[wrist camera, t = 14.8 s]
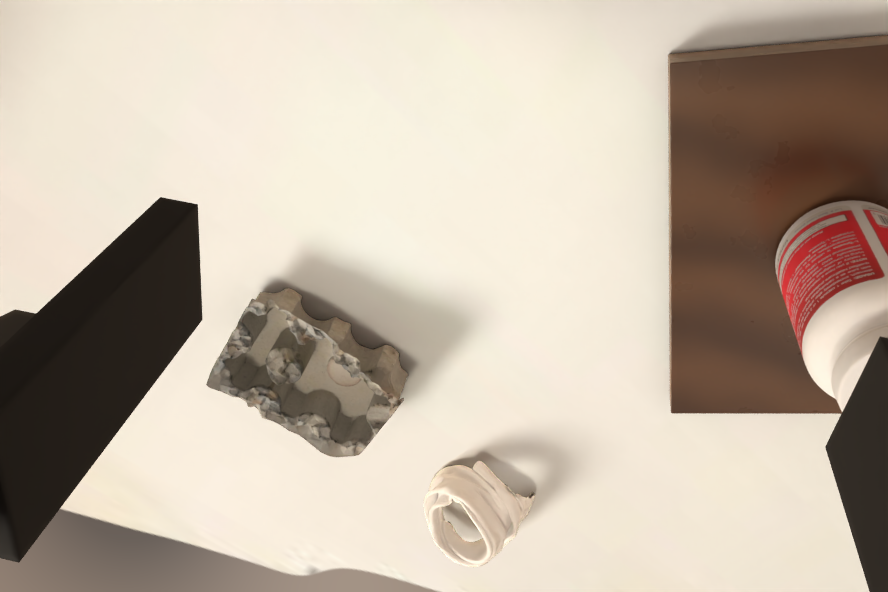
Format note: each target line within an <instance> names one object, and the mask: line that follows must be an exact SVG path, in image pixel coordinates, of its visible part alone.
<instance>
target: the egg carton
mask: <svg viewBox="0 0 888 592" xmlns="http://www.w3.org/2000/svg"><path fill="white" fill-rule="evenodd" d="M301 299H302V295H300V294H298V293H297V292H296V291H294V290H293V289H289V288H285V289H284V290H282V291H281V292H279V293H269V292H260V294H259V295H258V297H257V299H256V300H254V299H252V300H251V302H250V304H249V306H248V307H246V309H245V311H244V313H243V314H242V316H241V318H240V320H239V322H238V325H237V327H236V329H235V330H234V331H233V332H232V334H231V336H230V338H229V340H228V342H227V344H226V345H225V347H224V349H223V351H222V353H221V355H220V356H219V357H218V359H217V361H216V363H215V365H214V367H213V369H212V371H211V373H210V376H209V379H208V382H207V384H206V385H207V386H208V387H210V388H213V389H215V390H218V391H221V392H224V393H226V394H228V395H230V396H232V397H239V398H241V399H243V400H244V401H246V402H247V405H248V407H253V406H255V407H256V408H257V409H258V410H259V412H260V414H261V416H262V418H265V419H268V420H271V421H274V422H276V423H278V424H280V425H281V426H283V427H284V428H286V429H287V430H289V431H291V432H294V433H296V434H298V435H300V436H301V437H303V438H304V439H305V440H307V441H308V442H309V443H310V444H311V445H313V446H314V447H315V448H316V449H318V450H319V451H320V452H322V453H324V454H326V455H328V456H332V457H345V456H356V455H359V454H360V453H361V452H363V450H364V449H365V448H366V446H367V445H368V444H369V443H370V442H371V440H372V439H373V438H374V437H375V435H376V434H377V433H378V432H379V430H380V429H381V428H382V426H383V425H384V424H385V423H386V422H387V420H388V419H389V418H390V417H391V416H392V415H393V413H394V412H395V411H396V410H397V408H398V407H399V405H400V404H401V403H402V402H403V400H404V398H402V399H399V398H400V395H401V392H402V390H403V387H404V384H405V381H406V378H407V376H408V374H407V373H406V372H405V371H404V370H403V369H402V368H401V366H400V362H399V353H398V352H397V351H396V350H395V349H394V348H393V347H391V346H388V345H383V346H382V347H379V348H376V349H374V350H373V349H369V348H366V347H363V346H361V345H359V344H358V343H356V341H355V340H354V338H353V336H352V334H351V324H350V323H347V322H344V321H342V320H341V319H339V318H337V317H332V318H331V319H329V320H325V321H319V320H315V319H313V318H311V317H310V316H309V315H308V314H307V313H306V312H305V311H304V310H303V308H302V306H301Z"/></svg>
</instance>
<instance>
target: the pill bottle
mask: <svg viewBox="0 0 888 592" xmlns="http://www.w3.org/2000/svg"><path fill="white" fill-rule="evenodd" d="M775 268H776V275H777V279H778V283H779V286H780V289H781V292H782V295H783V298H784V301H785V304H786V307H787V311H788V314H789V317H790V320H791V323H792V326H793V329H794V332H795V335H796V338H797V341H798V344H799V347H800V351H801V354H802V357H803V360H804V363H805V365H806V367H807V370H808V372H809V374H810V376H811V377H812V379H813V380H814V381H815V383H816V384H817V385H818V386H819V387H820V388H821V389H822V390H823V391H824V392H826V393H827V394H829V395H830V396H832V397H833V398H835V399H836V400H837V402H838V405H839V407H840V409H841V411H842V412H843V410H844V408H845V406H846V404H847V402H848V400H849V398H850V396H851V394H852V392H853V390H854V388H855V386H856V384H857V382H858V380H859V378H860V376H861V374H862V372H863V370H864V368H865V366H866V363H867V361H868V359H869V357H870V355H871V353H872V351H873V349H874V347H875V345H876V343H877V341H878V339H879V337H880V336H881V337H886V338H888V209H886V208H884V207H882V206H880V205H877V204H874V203H870V202H865V201H854V200H852V201H839V202H834V203H830V204H826V205H823V206H820V207H818V208H816V209H813V210H811V211H810V212H808V213H806V214H805V215H803V216H802V217H800V218H799V219H798V220H797V221H796V222H795V223H794V224H793V225H792V226H791V227H790V228H789V229H788V231H787V232H786V233H785V235H784V236H783V238H782V240H781V242H780V244H779V246H778V249H777V253H776V259H775Z"/></svg>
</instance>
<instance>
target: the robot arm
mask: <svg viewBox="0 0 888 592" xmlns="http://www.w3.org/2000/svg"><path fill="white" fill-rule="evenodd" d="M201 321H202V299H201V275H200V251H199V226H198V204H192V203H187V202H182V201H177V200H172V199H167V198H161V197H160V198H159V199H158V200H157V201H156V202H155V203H154V204H153V205H152V206H151V207H150V208H149V209H147V210H146V211H145V212H144V213H143V214H142V215H141V216H140V217H139V218H138V219H137V220H136V221H135V222H134V223H133V224H131V225H130V226H129V227H128V228H127V229H126V230H125V231H124V232H123V233H122V234H121V235H120V236H119V237H118V238H117V239H115V240H114V241H113V242H112V243H111V244H110V245H109V246H108V247H107V248H106V249H105V250H104V251H103V252H102V253H101V254H99V255H98V256H97V257H96V258H95V259H94V260H93V261H92V262H91V263H90V264H89V265H88V266H87V267H86V268H85V269H83V270H82V271H81V272H80V273H79V274H78V275H77V276H76V277H75V278H74V279H73V280H72V281H71V282H70V283H69V284H67V285H66V286H65V287H64V288H63V289H62V290H61V291H60V292H59V293H58V294H57V295H56V296H55V297H54V298H53V299H51V300H50V301H49V302H48V303H47V304H46V305H45V306H44V307H43V308H42V309H41V310H40V311H39V312H38V313H37V314H34V313H29V312H24V311H20V310H13V311H11V312H9V313H7V314H5V315H3V316H1V317H0V558H2V559H6V560H11V561H15V562H20V560H21V559H22V558H23V557H24V555H25V554H26V553H27V551H28V550H29V549H30V547H31V546H32V545H33V543H34V542H35V541H36V539H37V538H38V537H39V535H40V534H41V533H42V531H43V530H44V529H45V527H46V526H47V525H48V523H49V522H50V521H51V520H52V518H53V517H54V516H55V514H56V513H57V512H58V510H59V509H60V508H61V506H62V505H63V504H64V502H65V501H66V500H67V498H68V497H69V496H70V494H71V493H72V492H73V490H74V489H75V488H76V486H77V485H78V484H79V482H80V481H81V480H82V478H83V477H84V476H85V474H86V473H87V472H88V470H89V469H90V468H91V466H92V465H93V464H94V463H95V461H96V460H97V459H98V457H99V456H100V455H101V453H102V452H103V451H104V449H105V448H106V447H107V445H108V444H109V443H110V441H111V440H112V439H113V437H114V436H115V435H116V433H117V432H118V431H119V429H120V428H121V427H122V425H123V424H124V423H125V421H126V420H127V419H128V417H129V416H130V415H131V413H132V412H133V411H134V409H135V408H136V407H137V405H138V404H139V403H140V401H141V400H142V399H143V398H144V396H145V395H146V394H147V392H148V391H149V390H150V388H151V387H152V386H153V384H154V383H155V382H156V380H157V379H158V378H159V376H160V375H161V374H162V372H163V371H164V370H165V368H166V367H167V366H168V364H169V363H170V362H171V360H172V359H173V358H174V356H175V355H176V354H177V352H178V351H179V350H180V348H181V347H182V346H183V344H184V343H185V342H186V340H187V339H188V338H189V337H190V335H191V334H192V333H193V331H194V330H195V329H196V327H197V326H198V325H199V323H200V322H201ZM826 451H827V454H828V457H829V460H830V464H831V467H832V470H833V473H834V477H835V480H836V483H837V486H838V490H839V493H840V496H841V499H842V503H843V506H844V509H845V513H846V516H847V519H848V522H849V526H850V529H851V532H852V535H853V539H854V542H855V545H856V548H857V552H858V555H859V558H860V561H861V565H862V568H863V571H864V574H865V578H866V581H867V584H868V588H869V591H870V592H888V338H886V337H881V336H880V337H879V339H878V341H877V343H876V345H875V347H874V349H873V351H872V353H871V355H870V357H869V359H868V361H867V363H866V366H865V368H864V370H863V372H862V374H861V376H860V378H859V380H858V382H857V384H856V386H855V388H854V390H853V392H852V394H851V396H850V398H849V400H848V402H847V404H846V406H845V408H844V410H843V412H842V414H841V416H840V418H839V420H838V422H837V424H836V426H835V428H834V430H833V432H832V435H831V437H830V439H829V441H828V443H827V445H826Z"/></svg>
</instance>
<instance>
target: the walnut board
mask: <svg viewBox="0 0 888 592" xmlns="http://www.w3.org/2000/svg"><path fill="white" fill-rule="evenodd" d="M668 114H669V335H670V406H671V413H842V411H841V409H840V407H839V405H838V402H837V400H836V399H835V398H833V397H832V396H830V395H829V394H827V393H826V392H824V391H823V390H822V389H821V388H820V387H819V386H818V385H817V384H816V383H815V381H814V380H813V379H812V377H811V376H810V374H809V372H808V370H807V367H806V365H805V363H804V360H803V357H802V354H801V351H800V347H799V344H798V341H797V338H796V335H795V332H794V329H793V326H792V323H791V320H790V317H789V314H788V311H787V307H786V304H785V301H784V298H783V295H782V292H781V289H780V286H779V283H778V279H777V275H776V268H775V259H776V253H777V249H778V246H779V244H780V242H781V240H782V238H783V236H784V235H785V233H786V232H787V231H788V229H789V228H790V227H791V226H792V225H793V224H794V223H795V222H796V221H797V220H798V219H799V218H800V217H802V216H803V215H805V214H806V213H808V212H810V211H811V210H813V209H816V208H818V207H820V206H823V205H826V204H830V203H834V202H839V201H852V200H854V201H865V202H870V203H874V204H877V205H880V206H882V207H884V208H886V209H888V35H882V36H870V37H859V38H847V39H836V40H825V41H813V42H802V43H790V44H779V45H768V46H756V47H745V48H733V49H722V50H711V51H699V52H688V53H676V54H669V55H668Z"/></svg>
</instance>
